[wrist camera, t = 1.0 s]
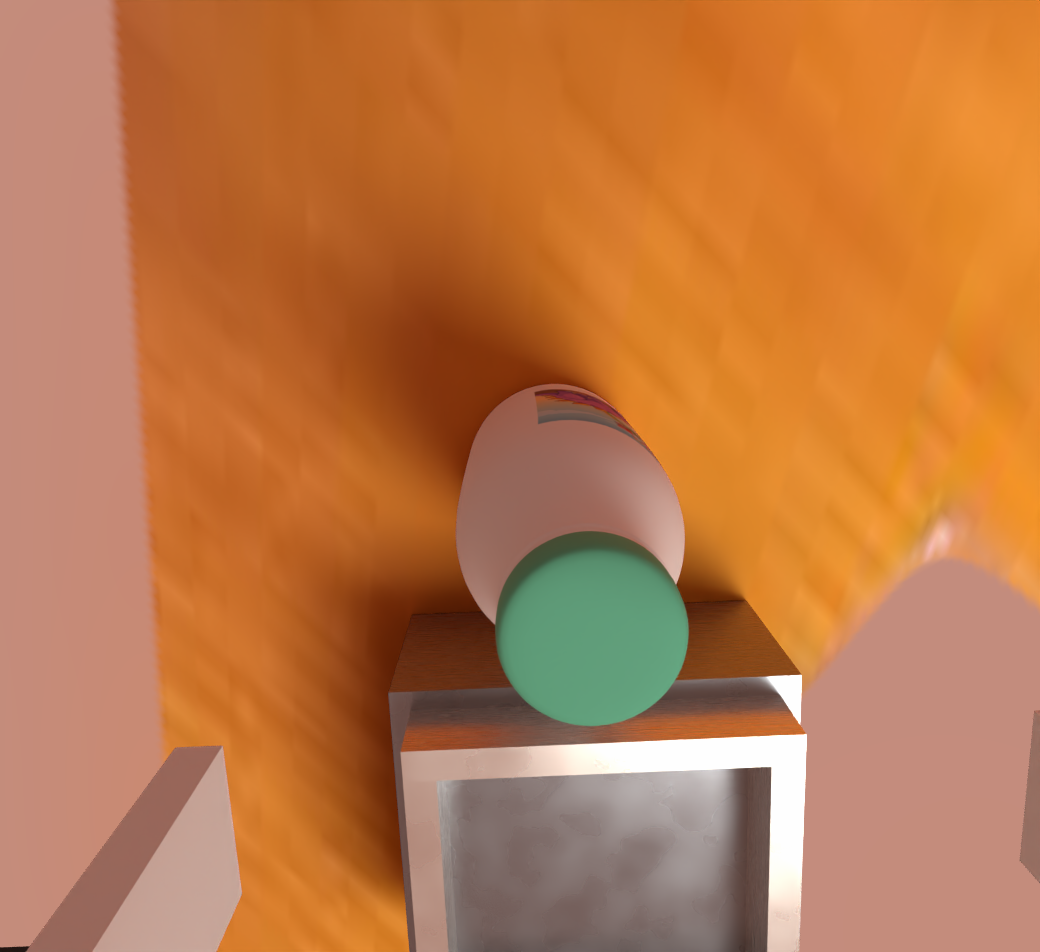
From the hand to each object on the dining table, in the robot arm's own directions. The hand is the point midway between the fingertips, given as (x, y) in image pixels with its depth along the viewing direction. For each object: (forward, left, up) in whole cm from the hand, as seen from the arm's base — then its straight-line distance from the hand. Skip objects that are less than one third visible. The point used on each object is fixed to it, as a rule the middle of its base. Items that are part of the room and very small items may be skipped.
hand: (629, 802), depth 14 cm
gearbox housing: (+15, +1, -26) cm, 30 cm away
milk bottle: (0, 0, -26) cm, 26 cm away
